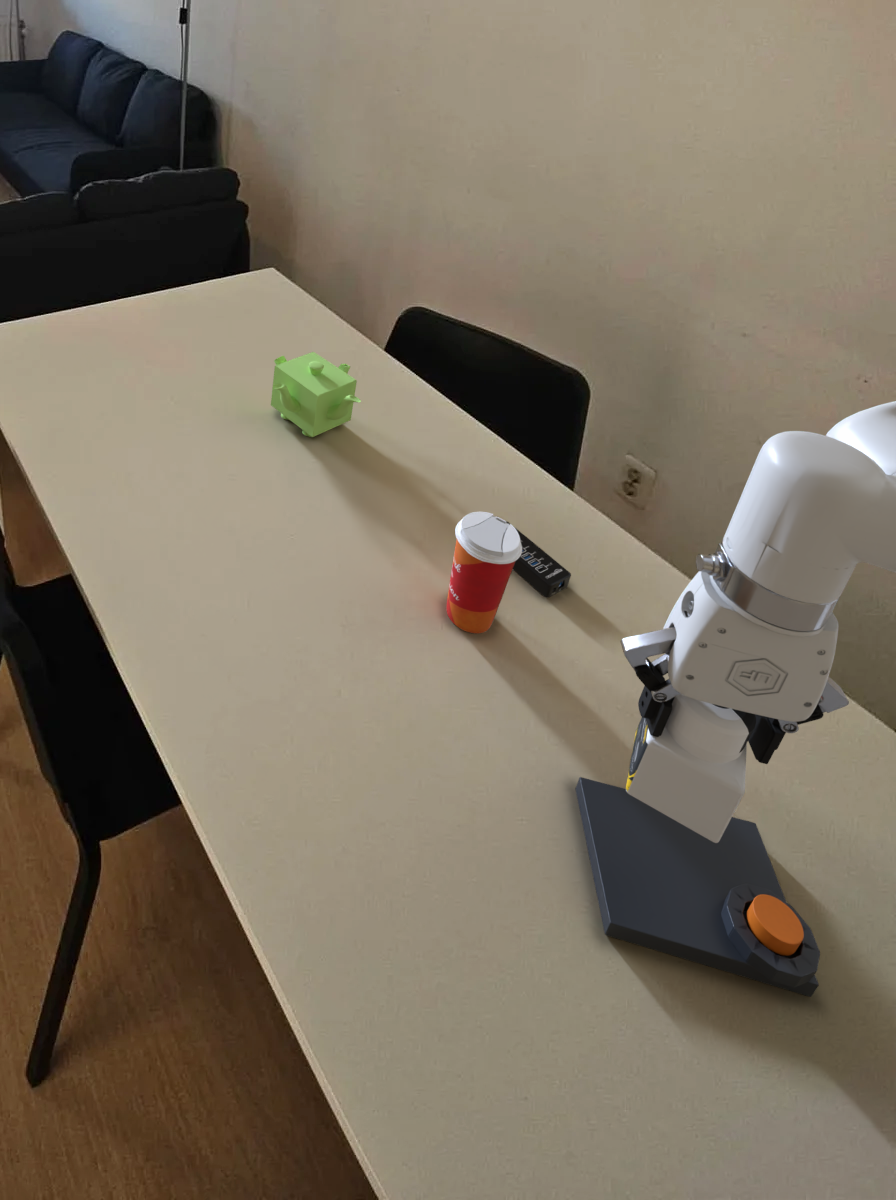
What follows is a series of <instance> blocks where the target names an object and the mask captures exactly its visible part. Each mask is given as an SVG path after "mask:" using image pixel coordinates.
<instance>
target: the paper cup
mask: <svg viewBox="0 0 896 1200" xmlns="http://www.w3.org/2000/svg"><path fill="white" fill-rule="evenodd" d="M506 521H507V520H505V519H503V518H501V517H499V516H495V515H494V513H491V512H487V511H473V512H469V513H467V514H466V515H464V516H463V517H462V519H460V520H459V521H458V522H457V524H456V525H455V529H454V532H455V538H456V540H455V547H454V553H453V558H452V560H453V561H452V564H451V565H452V566H451V571H450V572H451V573H450V579H449V585H448V591H447V598H446V606H445V607H446V608H445V609H446V614H447V617H448V618H449V620H450V622H451V623H453V625H455V626H456V627H457V628H459V629H461V630H462V631H464V632H466V633H469V634H483V633H486V632H488V630H490V628H491V627H492V624H493V622H494V620H495V617H496V615H497V613H498V610H499V607H500V604H501V602H502V599H503V596H504V594H505V591H506V588H507V585H508V583H509V580H510V577H511V574H512V572H513V567H514V564H515V561H516V560H517V559H518V558H519V557H520V556H521V553H522V545H521V542H520V536H519V534H518V532H517V530H518V529H517V528H516V527H515V526H514V524H513V525H512V523H510V525H509V524H508V523H506ZM514 527H515V528H516V529H517V530H516V529H515V528H514Z"/></svg>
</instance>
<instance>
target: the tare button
mask: <svg viewBox="0 0 896 1200" xmlns="http://www.w3.org/2000/svg"><path fill="white" fill-rule="evenodd" d="M747 922H748V925H749V927H750V929H751V931H752V932H753V934H754V935H755V937H756V938H757V939H758V940H759V941H760V942H761V943H762V944H763V945H764V946H765V947H767V948H768V949H770V950H771V951H773V952H775V953H777V954H780V955H785V956H788V955H792V954H794V953H795V951H796V950H797V948H798V947H799V945H800V944H801V942H802V940H803V938H804V931H803V927H802V925H801V923H800V921H799V919H798V917H797V916H796V915H795V913H794V912H793V911H792V910H791V909H790V908H789V907H788V906H787V905H786V904H784V903H783V902H782V901H780V900H779V899H777V898H775V897H773V896H770V895H764V894H762V895H758V896H756V897H755V898H754V900H753V902H752V903H751V905H750V907H749V909H748V910H747Z"/></svg>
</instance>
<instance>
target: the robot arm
mask: <svg viewBox="0 0 896 1200" xmlns="http://www.w3.org/2000/svg"><path fill="white" fill-rule="evenodd" d="M862 563H863V564H868V565H871V566H872V567H873V566H874V567H876V568H879V569H882V570H884V571H885V570H886V571H888V572H891V573H894V574H896V400H895V401H889V402H885V403H882V404H878V405H875V406H872V407H868V408H866V409H863V410H859V411H857V412H855V413H853V414H851V415H849V416H847V417H845V418H843V419H842V420H840V421H839V422H837V423H836V424H835V425H833V427H831V428H830V429H829V430H828V431H827V433H826V434H825V435H824V434H821V433H816V432H812V431H806V430H805V431H803V430H787V431H781V432H779V433H776V434H774V435H772V436H771V437H769V438H768V439H767V440H766V441H765V442H764V444H763V445H762V446H761V448H760V450H759V452H758V454H757V457H756V459H755V461H754V464H753V466H752V468H751V470H750V473H749V476H748V478H747V481H746V483H745V485H744V488H743V490H742V492H741V495H740V497H739V499H738V501H737V505H736V507H735V509H734V512H733V514H732V517H731V519H730V521H729V524H728V526H727V529H726V530H725V534H724V535H723V538H722V541H721V542H718V544H717V546H716V549H715V551H714V553H712V554H711V553H709V554H704V553H703V554H702V553H698V554H697V555H696V558H695V567H696V570H697V571H698V572H697V573H696V574H695V575H694V576H693V578H692V579H691V580H690V581H689V582H688V584H687V585H686V587H685V588H684V589H683V591H682V593H681V594H680V595H679V597H678V599H677V600H676V602H675V603H674V606H673V608H672V609H671V611H670V613H669V615H668V617H667V619H666V620H665V621H666V622H665V623H664V625H663V628H662V629H657V630H653V631H649V632H643V633H640V634H636V635H632V636H631V635H630V636H627V637H623V638H622V639H621V640H620V646H621V648H622V652H623V655H624V657H625V658H626V660H627V662H628V663H629V665H630V666H631V668H632V669H633V671H634V672H635V676H636V677H637V678H638V680H639V681H640V682H641V683H642V684H643V685H644V686H643V689H642V691H641V693H640V696H639V698H638V703H637V704H638V706H637V707H638V712H639V715H640V718H642V717H643V718H645V719H646V722H647V726H648V729H649V732H650V735H651V736H655V737H659V736H661V734H662V732H663V730H664V728H665V725H666V723H667V721H668V718H669V716H670V714H671V712H672V703H671V701H670V699H671V698H673V697H675V696H677V695H679V694H680V693H681V694H683V695H685V696H687V697H689V698H692V699H696V700H699V701H703V702H707V703H711V704H715V705H719V706H723V707H727V708H731V709H735V710H739V711H744V712H748V713H752V714H755V716H756V725H755V728H754V730H753V732H752V734H751V736H750V738H749V740H748V742H747V743H748V745H749V747H750V749H751V751H752V754H753V756H754V758H755V760H756V761H757V762H758V763H760V764H763V765H768V764H769V763H770V760H771V759H772V756H773V754H774V753H775V751H776V750H778V749H779V747H780V745H781V743H782V741H783V740H784V737H785V736H786V734H795V733H797V732H799V729H800V728H799V727H800V726H799V725H803V724H806V723H810V722H814V721H817V720H821V719H822V718H824V713H827V714H829V713H832V712H834V711H837V710H839V709H843V708H844V707H847V706H849V704H850V701H849V699H848V698H847V695H846V694H845V692H844V690H843V689H842V687H841V686H840V685H839V684H838V683H837V682H836V681H835V680H834V679H833V678H831V677H830V674H831V671H832V667H833V664H834V659H835V655H836V649H837V642H838V635H839V625H840V624H839V621H838V619H837V617H836V616H835V614H834V612H833V611H834V609H835V608H836V605H837V604H838V601H839V600H840V598H841V595H842V594H843V592H844V591H845V588H846V586H847V584H848V583H849V580H850V578H851V577H852V575H853V573H854V571H855V569H856V567H857V564H862ZM659 655H661V656H659ZM654 656H659V657H657V658H656V659H654V660H652V661H651V660H650V659H649V658H650V657H654ZM665 675H667V676H668V679H666V678H665V677H664V676H665Z"/></svg>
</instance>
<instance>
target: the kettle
mask: <svg viewBox="0 0 896 1200" xmlns="http://www.w3.org/2000/svg"><path fill="white" fill-rule="evenodd" d="M273 362H274V364H275V366H274V370H273V379H272V380H273V381H272V389H271V397H270V398H271V399H270V406H271V407H272V408H273V409H275V410H277V411H278V412H279V413H280V417H281V418H282V419H283V420H285V421H286V420H287V421H290V422H292V423H293V424H294V425H296V426H297V427H298V428H300V429H301V430H302V431H301V433H302V435H304V436H305V437H309V438H314V437H316V436H318V435H321V434H323V433H325V432H327V431H329V430H332V429H334V428H336V427H338V426H341V425H343V424H345V423H348V422H349V421H351V420H352V416H353V415H352V414H353V408H354V403H361V402H362V400H361V399H360V398H359V397H358V396H356V388H357V382H358V381H357V379H356V378H355V377H353V376H351V375H350V374H349V372H350V369H351V366H350V365H349V364H347V363H340V365H339V366H338V367H337V365H334V364H333V363H332V362H330V361H329V360H327V359H326V358H324V357H322V356H321V355H320V354H318V353H316V352H315V351H312V352H308V353H305V354H303V355H300V356H297V357H294V358H292V359H289V360H287V358H286V357H285V355H281V356H279V357H277V358H276V359H274V360H273Z"/></svg>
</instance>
